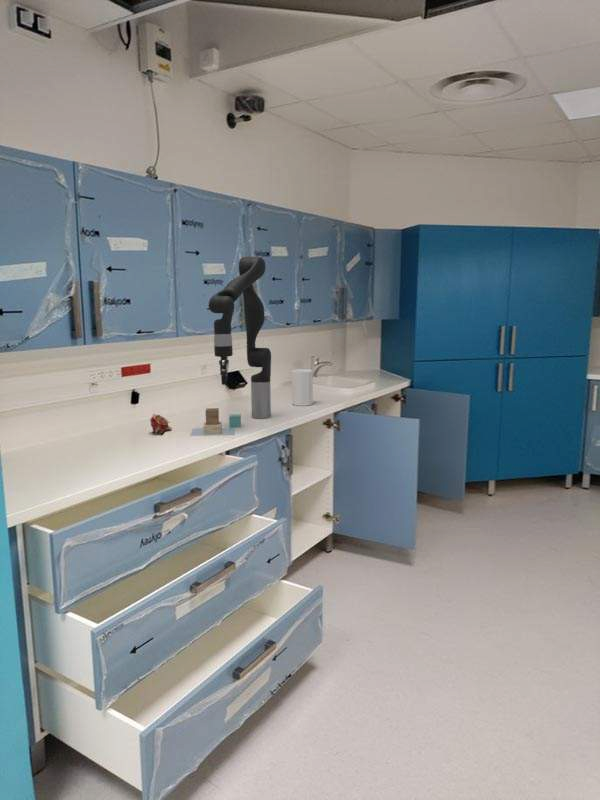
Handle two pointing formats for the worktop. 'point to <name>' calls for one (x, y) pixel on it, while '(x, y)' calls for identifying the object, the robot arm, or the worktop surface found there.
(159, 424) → the flower
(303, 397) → the cup
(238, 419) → the block teal
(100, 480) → the worktop surface
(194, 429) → the board
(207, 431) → the base block
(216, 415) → the block walnut
